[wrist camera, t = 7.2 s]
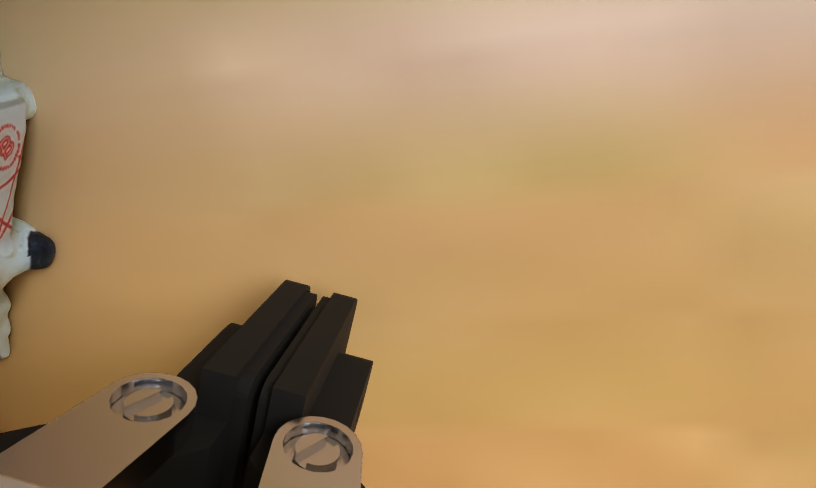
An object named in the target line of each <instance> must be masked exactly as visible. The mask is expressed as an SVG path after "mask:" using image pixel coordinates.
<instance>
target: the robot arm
mask: <svg viewBox="0 0 816 488" xmlns="http://www.w3.org/2000/svg"><path fill="white" fill-rule="evenodd" d="M316 301H317V294H313V293H310V286H308V285H304V284H300V283H297V282H293V281H289V280H285V281H284V282H283V283H282V284H281V285H280V286H279V287H278V288H277V289H276V291H275V292H274V293H273V294H272V295H271V296H270V297H269V298H268V299H267V300H266V301H265V302H264V303H263V304H262V305H261V306H260V307H259V308H258V309H257V311H256V312H255V313H254V314H253V315H252V316H251V317H250V318H249V319H248V320H247V321H246V322H245V323H244V324H243V325H239V324H235V323H231V324H229V325H228V326H227V327H226V328H224V329H223V330H222V331H221V332H220V333H219V334H218V335H217V336H216V337H215V338H214V339H213V340H212V341H211V342H210V343H209V344H208V345H207V346H206V347H205V348H204V349H203V350H202V351H201V352H200V353H199V354H198V355H197V356H196V357H195V358H194V359H193V360H192V361H191V362H190V363H189V364H188V365H187V366H186V367H185V368H184V369H183V370H182V371H181V372H180V373H179V374H178V375H177V376H174V375H170V374H164V373H142V374H136V375H132V376H128V377H124V378H122V379H120V380H118V381H116V382H114V383H112V384H110V385H109V386H107V387H105V388H104V389H102V390H101V391H99V392H97V393H96V394H94V395H93V396H91V397H89V398H88V399H86V400H85V401H83V402H81V403H80V404H78V405H77V406H75V407H73V408H72V409H70V410H69V411H67V412H65V413H64V414H62V415H61V416H59V417H57V418H56V419H54V420H53V421H51V422H50V423H48V424H43V425H38V426H34V427H29V428H24V429H19V430H14V431H9V432H4V433H0V488H365V487H364V486H363V484H362V483H361V473H362V455H363V452H362V446H361V442H360V441H359V439H358V437H357V436H356V434H355V433H354V432H355V428H356V425H357V422H358V418H359V415H360V411H361V408H362V404H363V400H364V397H365V393H366V389H367V385H368V381H369V377H370V373H371V369H372V365H373V361H370V360H366V359H363V358H359V357H355V356H352V355H348V354H345V352H346V348H347V343H348V339H349V335H350V331H351V326H352V322H353V318H354V314H355V310H356V305H357V299H356V298H352V297H348V296H345V295H341V294H337V293H333V295H332V296H331V298H328V297H324V296H323V297H322V299H321V300H320V302H319V303H318V304H317V306H316ZM315 306H316V307H315Z"/></svg>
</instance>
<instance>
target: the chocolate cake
mask: <svg viewBox="0 0 816 488" xmlns="http://www.w3.org/2000/svg"><path fill="white" fill-rule="evenodd" d="M36 111H37V108H36V103H35V99H34V96H33V93H32V92H31V90H30V89H29V88H28V86H27V85H26V84H24V83H23V82H20V81H17V80H13V79H9V78H8V77H7V76H5V75H4V74H3V72H2V69H1V56H0V361H1V360H2V359H4V358H6V357H8V356H9V354H10V344H9V339H8V336H9V334H10V332H11V326H10V322H9V319H8V312H9V310H10V308H11V303H10V301H9V298H8V296H7V295H6V294H5V292H4V290H3V288H4V286H5V285H6V284H7V283H8V282H9V281H10V280H11V279H12V278H13V277H15V276H17V275H19V274H21V273H22V272H25V271H27V270H32V269H43V268H46V267H48V266H49V265H50V264H51V262H52V260H53V258H54V256H55V244H54V242H53V241H52V240H51V239H50V238H48V237H47V236H45V235H44V234H42V233H40V232H38V231H37V230H36V229H35V228H33V227H32V226H31V225H30V224H28V223H27V222H25V221H23V220H21V219H18V218H15V217H12V214H13V207H14V194H15V189H16V185H17V176H18V172H19V169H20V165H21V160H22V151H23V144H24V138H25V133H26V120H27V119H31V118H32V117H33V116H34V115H35V114H36Z"/></svg>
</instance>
